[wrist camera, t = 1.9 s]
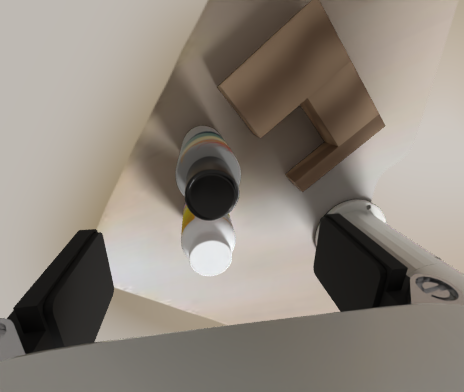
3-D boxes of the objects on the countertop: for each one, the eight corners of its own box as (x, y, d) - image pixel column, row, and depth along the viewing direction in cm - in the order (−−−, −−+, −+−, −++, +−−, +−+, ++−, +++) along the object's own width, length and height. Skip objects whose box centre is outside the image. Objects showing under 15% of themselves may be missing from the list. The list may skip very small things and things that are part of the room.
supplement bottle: (188, 232, 40) (186, 289, 28) (179, 194, 37) (171, 239, 26) (229, 224, 40) (244, 276, 29) (223, 186, 38) (235, 226, 26)
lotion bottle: (208, 172, 37) (223, 248, 18) (174, 151, 35) (153, 210, 17) (231, 140, 36) (270, 186, 17) (197, 116, 34) (200, 138, 15)
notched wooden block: (366, 123, 37) (385, 126, 34) (292, 183, 39) (302, 192, 36) (302, 8, 31) (317, -4, 27) (217, 87, 33) (219, 85, 29)
